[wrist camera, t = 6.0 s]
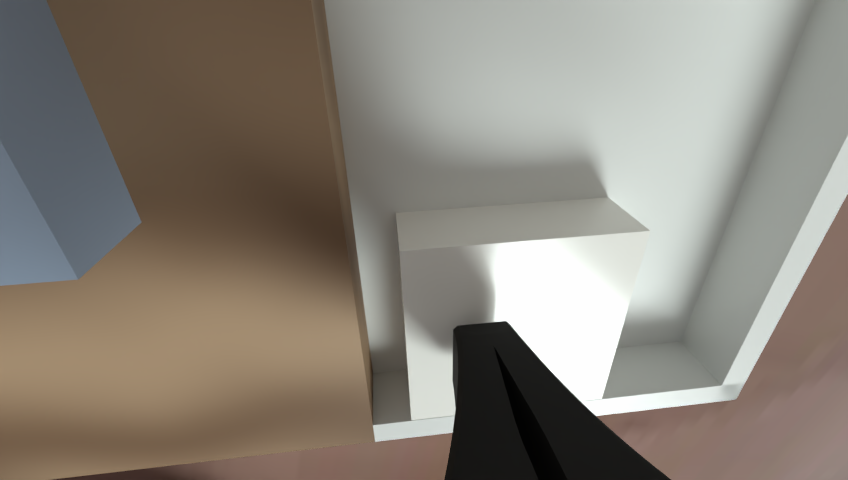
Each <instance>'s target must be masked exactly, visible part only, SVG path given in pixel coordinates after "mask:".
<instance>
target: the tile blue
mask: <svg viewBox="0 0 848 480" xmlns="http://www.w3.org/2000/svg"><path fill="white" fill-rule="evenodd" d="M140 223H141V220H140V217H139V215H138V213H137V210H136V208H135V206H134V203H133V201H132V199H131V196H130V194H129V192H128V189H127V187H126V185H125V182H124V180H123V178H122V175H121V173H120V171H119V168H118V166H117V164H116V161H115V159H114V157H113V154H112V152H111V150H110V148H109V145H108V143H107V141H106V138H105V136H104V134H103V131H102V129H101V127H100V124H99V122H98V120H97V117H96V115H95V113H94V110H93V108H92V106H91V103H90V101H89V99H88V96H87V94H86V92H85V89H84V87H83V85H82V82H81V80H80V78H79V75H78V73H77V71H76V68H75V66H74V64H73V61H72V59H71V57H70V54H69V52H68V50H67V47H66V45H65V43H64V40H63V38H62V36H61V33H60V31H59V29H58V26H57V24H56V22H55V19H54V17H53V15H52V12H51V10H50V8H49V5H48V3H47V1H46V0H0V286H4V285H16V284H29V283H41V282H54V281H66V280H78V279H80V278H81V277H82V276H83V275H84V274H85V273H86V272H87V271H88V270H89V269H91V268H92V267H93V266H94V265H95V264H96V263H97V262H98V261H99V260H101V259H102V258H103V257H104V256H105V255H106V254H107V253H108V252H109V251H110V250H112V249H113V248H114V247H115V246H116V245H117V244H118V243H119V242H120V241H121V240H123V239H124V238H125V237H126V236H127V235H128V234H129V233H130V232H131V231H132V230H134V229H135V228H136V227H137V226H138V225H139V224H140Z"/></svg>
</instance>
